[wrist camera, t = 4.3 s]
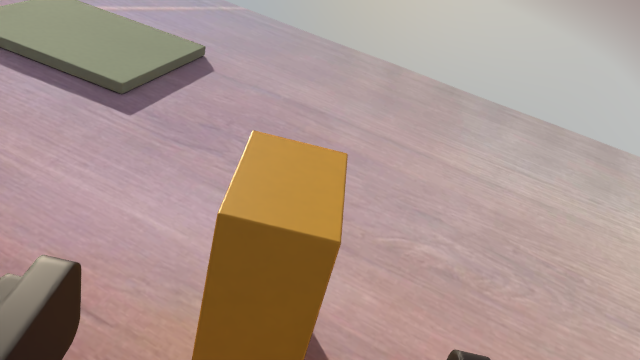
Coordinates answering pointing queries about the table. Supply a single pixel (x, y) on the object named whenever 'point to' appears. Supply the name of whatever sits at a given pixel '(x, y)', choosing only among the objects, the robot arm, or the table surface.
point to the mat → (92, 43)
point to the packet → (272, 251)
